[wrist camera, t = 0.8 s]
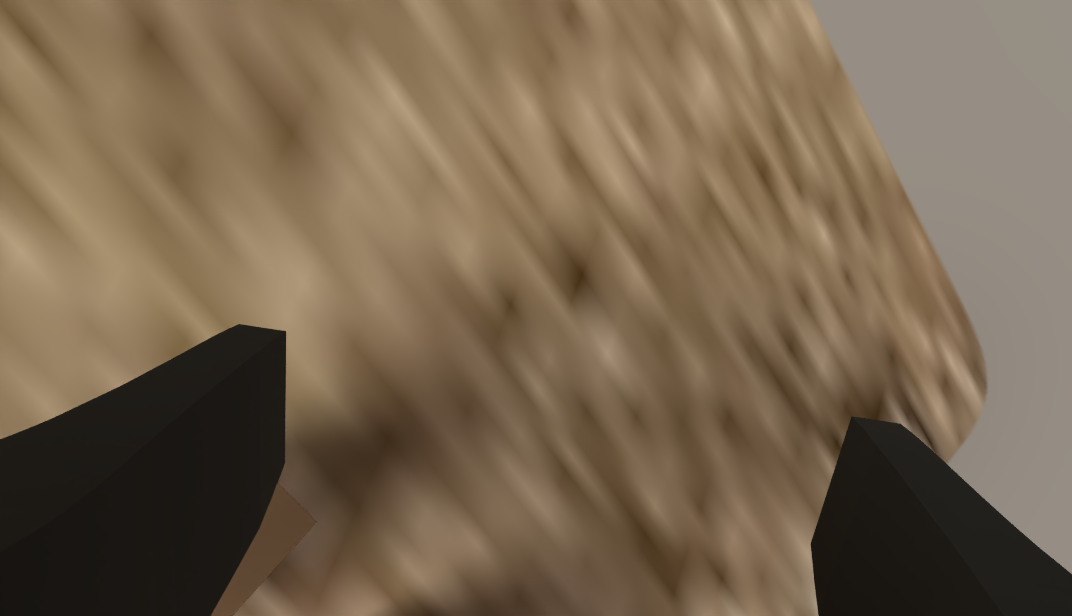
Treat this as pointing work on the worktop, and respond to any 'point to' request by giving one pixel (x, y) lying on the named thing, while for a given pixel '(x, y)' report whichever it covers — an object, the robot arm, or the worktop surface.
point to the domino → (266, 549)
